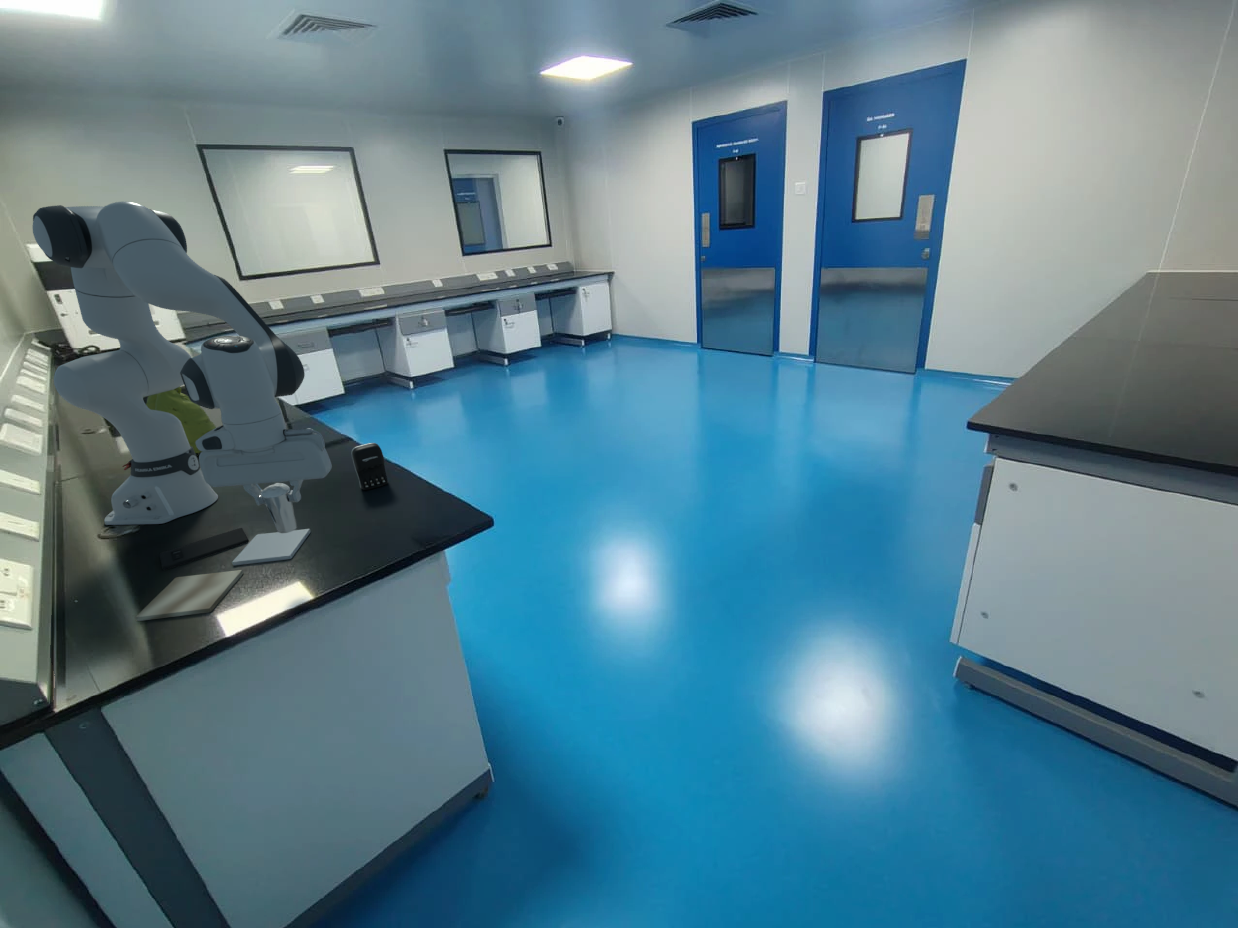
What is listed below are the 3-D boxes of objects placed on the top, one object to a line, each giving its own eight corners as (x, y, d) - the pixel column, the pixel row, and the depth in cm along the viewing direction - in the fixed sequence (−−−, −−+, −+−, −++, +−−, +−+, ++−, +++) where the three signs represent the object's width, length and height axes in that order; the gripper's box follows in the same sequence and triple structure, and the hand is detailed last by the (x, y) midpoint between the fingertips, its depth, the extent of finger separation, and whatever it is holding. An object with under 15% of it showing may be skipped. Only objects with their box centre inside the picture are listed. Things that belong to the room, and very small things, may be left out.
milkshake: (276, 524, 105) (261, 477, 101) (305, 522, 105) (291, 475, 101) (264, 536, 100) (248, 487, 96) (294, 534, 101) (279, 486, 97)
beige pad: (136, 621, 95) (134, 617, 94) (177, 580, 106) (175, 577, 105) (211, 611, 96) (209, 608, 96) (243, 573, 107) (242, 569, 107)
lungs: (232, 450, 172) (205, 375, 162) (172, 466, 161) (140, 387, 152) (209, 435, 187) (183, 365, 178) (153, 449, 177) (123, 376, 167)
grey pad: (233, 565, 110) (232, 562, 109) (258, 537, 120) (257, 534, 119) (291, 558, 111) (289, 555, 111) (310, 531, 121) (309, 528, 121)
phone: (248, 539, 118) (161, 567, 109) (250, 544, 118) (164, 572, 109) (241, 526, 123) (158, 552, 114) (243, 531, 124) (161, 558, 115)
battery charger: (363, 493, 138) (352, 451, 134) (359, 488, 141) (348, 447, 137) (391, 485, 142) (381, 444, 138) (387, 480, 145) (377, 440, 140)
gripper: (326, 421, 99) (344, 489, 105) (204, 430, 97) (229, 499, 102) (313, 433, 93) (333, 504, 99) (184, 443, 91) (211, 515, 96)
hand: (279, 502), depth 101 cm, fingers closed on milkshake, 4 cm apart
